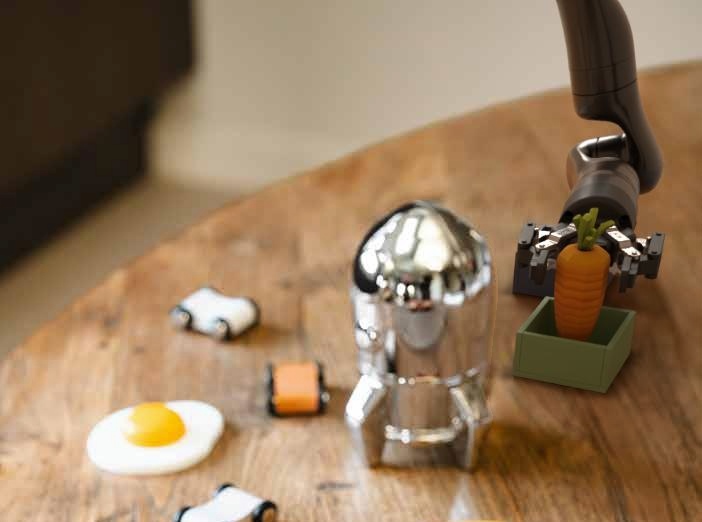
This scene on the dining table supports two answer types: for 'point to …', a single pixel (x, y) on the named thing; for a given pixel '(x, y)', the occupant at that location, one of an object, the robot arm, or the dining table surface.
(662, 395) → the dining table surface
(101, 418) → the dining table surface
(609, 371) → the green bin
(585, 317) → the carrot
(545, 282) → the blue bin
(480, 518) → the dining table surface
